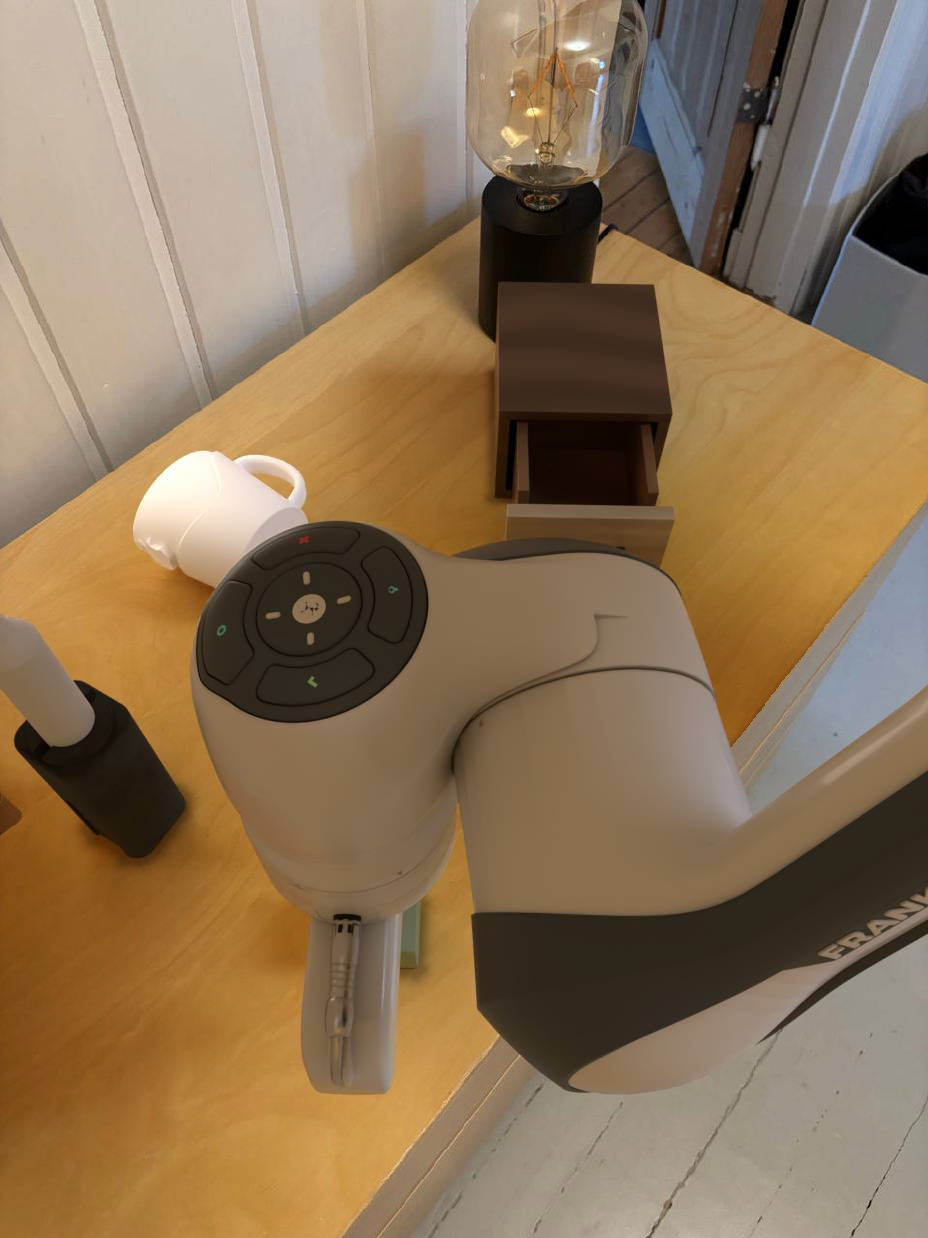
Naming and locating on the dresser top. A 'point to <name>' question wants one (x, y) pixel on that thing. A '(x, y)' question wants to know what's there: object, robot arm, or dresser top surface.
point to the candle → (86, 745)
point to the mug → (215, 512)
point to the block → (410, 937)
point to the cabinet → (577, 361)
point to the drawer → (588, 485)
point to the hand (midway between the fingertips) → (375, 905)
